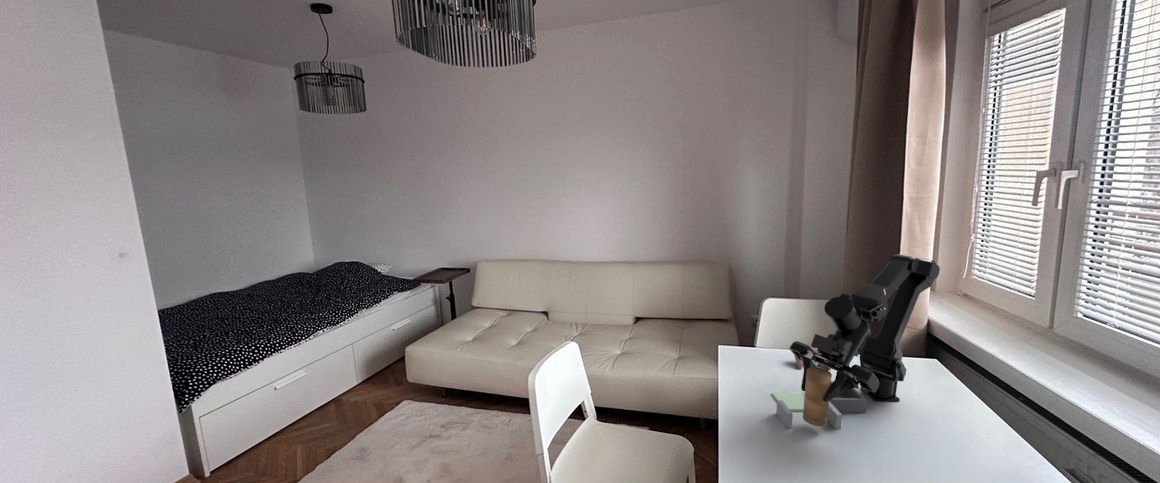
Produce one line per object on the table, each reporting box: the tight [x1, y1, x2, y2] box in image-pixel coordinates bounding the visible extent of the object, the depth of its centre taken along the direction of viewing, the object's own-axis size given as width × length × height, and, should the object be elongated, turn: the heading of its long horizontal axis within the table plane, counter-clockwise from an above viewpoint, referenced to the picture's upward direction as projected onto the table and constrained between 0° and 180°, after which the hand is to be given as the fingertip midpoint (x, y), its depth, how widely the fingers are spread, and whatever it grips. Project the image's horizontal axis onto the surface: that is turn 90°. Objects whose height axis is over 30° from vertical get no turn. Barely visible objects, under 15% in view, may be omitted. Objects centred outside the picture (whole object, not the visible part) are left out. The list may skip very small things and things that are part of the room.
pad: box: [771, 391, 805, 412], centre depth 113 cm, size 8×8×1 cm
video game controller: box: [793, 344, 831, 370], centre depth 132 cm, size 10×5×7 cm, turn 85°
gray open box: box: [830, 380, 868, 414], centre depth 112 cm, size 9×9×4 cm
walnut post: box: [802, 366, 832, 427], centre depth 100 cm, size 5×5×12 cm
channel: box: [776, 400, 843, 430], centre depth 105 cm, size 12×6×4 cm, turn 87°
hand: (813, 395), depth 99 cm, fingers closed on walnut post, 5 cm apart
